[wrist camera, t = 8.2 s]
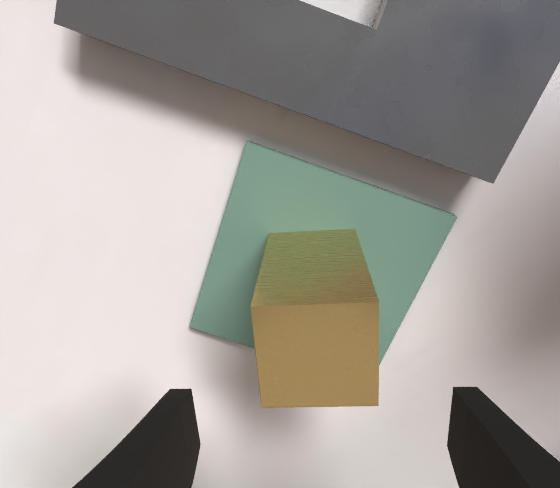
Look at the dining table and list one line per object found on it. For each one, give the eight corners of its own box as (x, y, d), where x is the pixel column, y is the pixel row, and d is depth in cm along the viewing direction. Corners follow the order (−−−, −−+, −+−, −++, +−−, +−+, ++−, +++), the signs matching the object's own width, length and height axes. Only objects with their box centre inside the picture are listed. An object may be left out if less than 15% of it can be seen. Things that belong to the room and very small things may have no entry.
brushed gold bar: (355, 228, 20) (379, 301, 13) (356, 305, 21) (378, 405, 14) (269, 232, 20) (250, 306, 13) (276, 307, 21) (261, 407, 15)
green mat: (453, 214, 19) (457, 217, 19) (367, 379, 23) (368, 385, 23) (247, 140, 19) (246, 141, 18) (192, 321, 22) (189, 327, 22)
